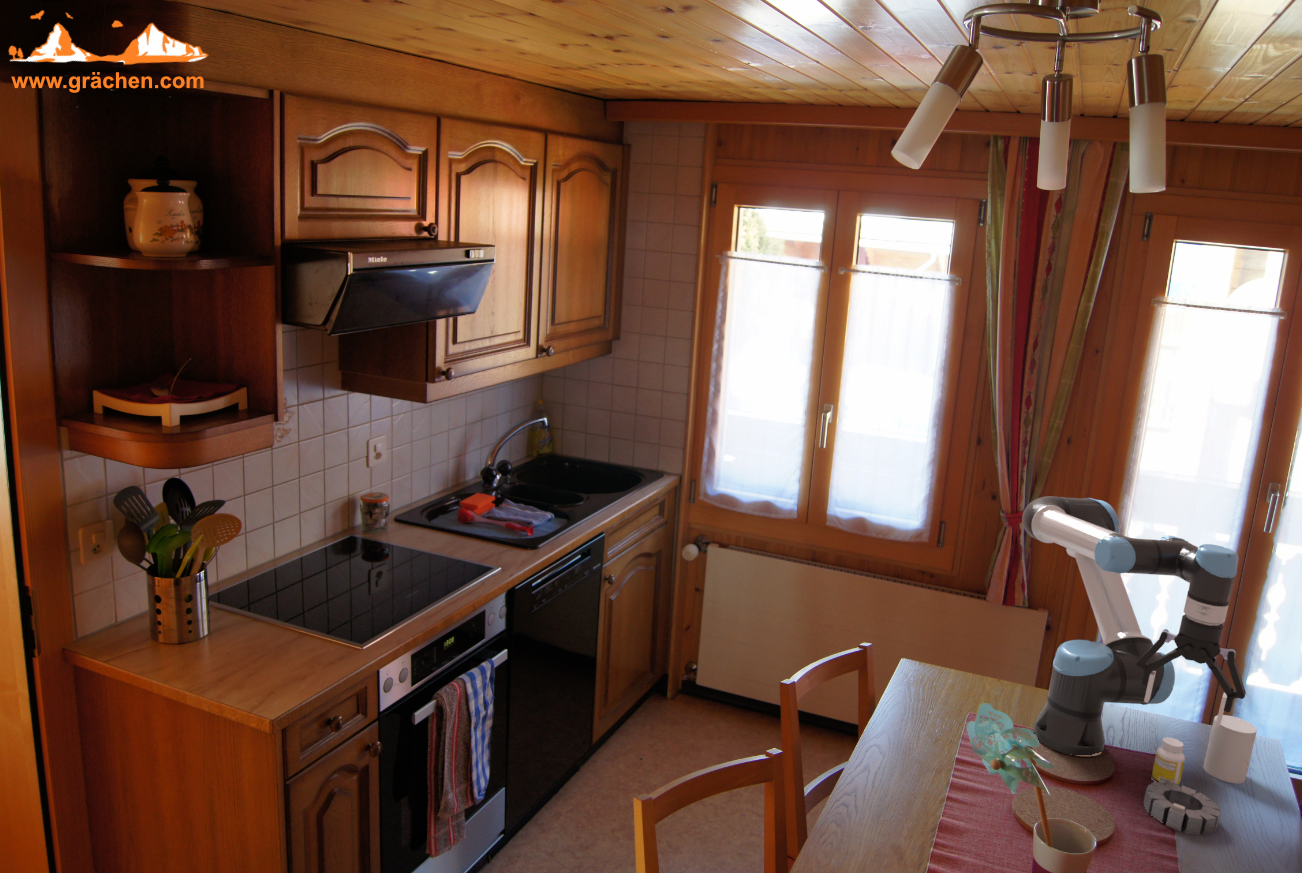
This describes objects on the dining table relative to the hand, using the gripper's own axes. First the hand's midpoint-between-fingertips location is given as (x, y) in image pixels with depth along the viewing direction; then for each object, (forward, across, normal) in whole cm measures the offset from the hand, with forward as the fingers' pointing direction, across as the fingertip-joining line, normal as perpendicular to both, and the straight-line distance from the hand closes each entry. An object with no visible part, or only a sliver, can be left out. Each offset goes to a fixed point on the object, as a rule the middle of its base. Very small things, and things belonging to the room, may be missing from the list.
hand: (1181, 712), depth 199 cm
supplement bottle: (+17, 0, -1) cm, 17 cm away
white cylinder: (+17, +10, +15) cm, 24 cm away
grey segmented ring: (+16, +4, -13) cm, 21 cm away
